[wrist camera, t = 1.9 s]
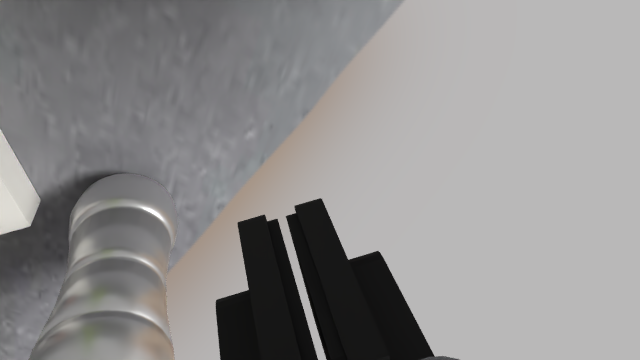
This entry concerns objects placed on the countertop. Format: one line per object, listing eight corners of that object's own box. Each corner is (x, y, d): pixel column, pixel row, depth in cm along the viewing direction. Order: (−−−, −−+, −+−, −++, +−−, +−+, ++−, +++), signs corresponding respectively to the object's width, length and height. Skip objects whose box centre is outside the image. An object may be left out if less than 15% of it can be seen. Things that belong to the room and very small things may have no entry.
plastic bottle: (197, 212, 39) (211, 486, 22) (114, 257, 39) (68, 558, 23) (142, 143, 35) (110, 405, 19) (52, 193, 36) (-57, 493, 19)
